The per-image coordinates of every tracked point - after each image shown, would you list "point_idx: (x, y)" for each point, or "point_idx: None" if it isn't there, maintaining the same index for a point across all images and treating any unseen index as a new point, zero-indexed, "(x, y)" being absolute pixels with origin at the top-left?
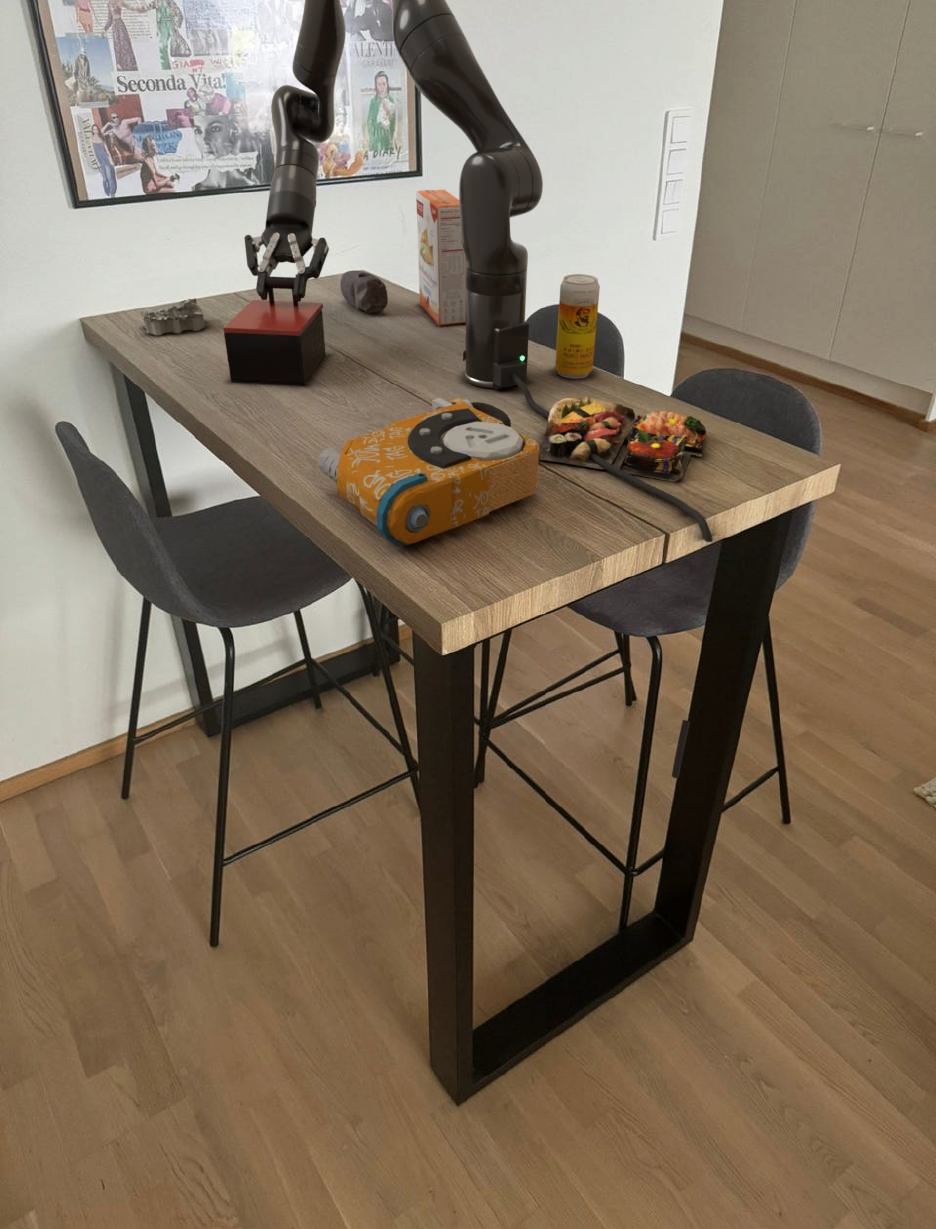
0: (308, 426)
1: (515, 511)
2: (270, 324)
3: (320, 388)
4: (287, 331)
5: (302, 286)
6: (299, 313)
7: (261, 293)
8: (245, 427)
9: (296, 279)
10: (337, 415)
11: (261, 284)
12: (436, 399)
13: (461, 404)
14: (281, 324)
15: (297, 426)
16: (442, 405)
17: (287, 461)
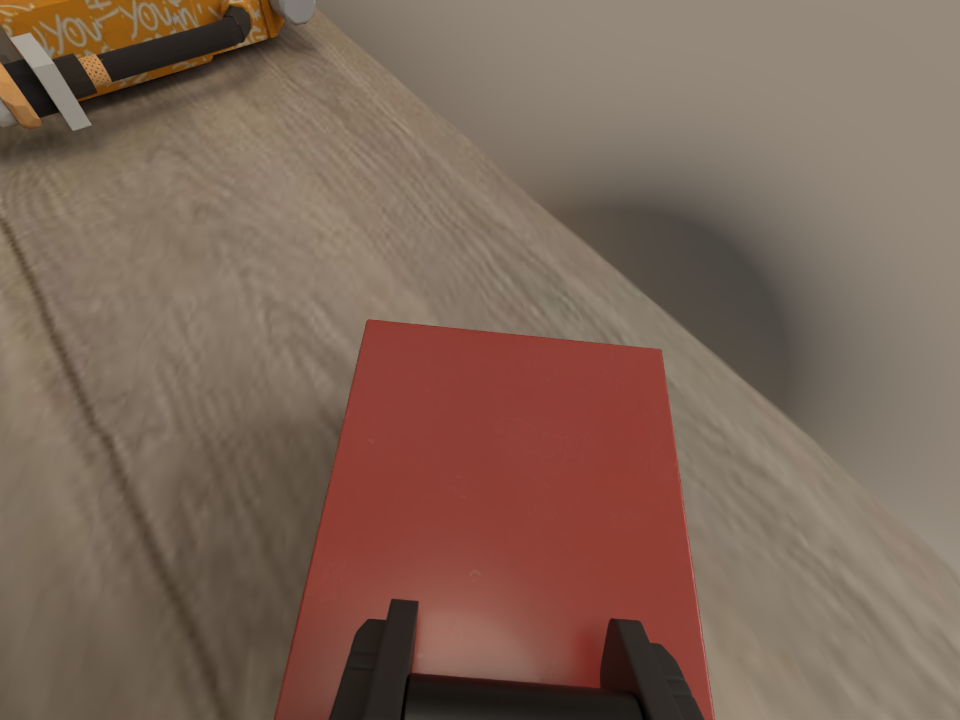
0: (355, 211)
1: None
2: (493, 385)
3: (336, 398)
4: (413, 325)
5: (354, 658)
6: (388, 546)
7: (622, 619)
8: (482, 210)
9: (394, 686)
10: (292, 253)
11: (647, 660)
12: (43, 63)
13: (3, 3)
14: (448, 385)
15: (378, 212)
16: (41, 47)
17: (381, 114)
